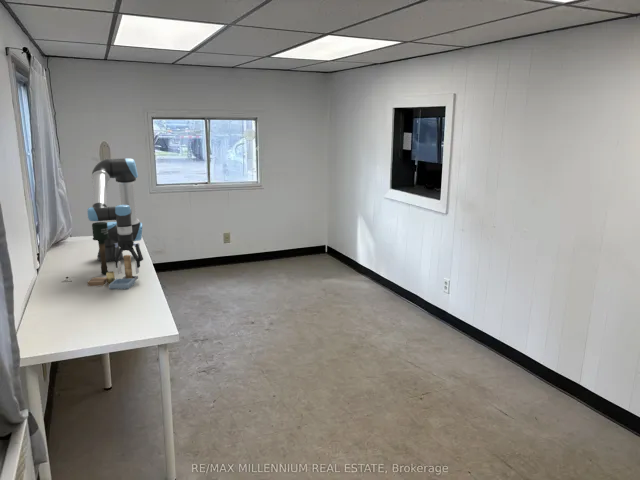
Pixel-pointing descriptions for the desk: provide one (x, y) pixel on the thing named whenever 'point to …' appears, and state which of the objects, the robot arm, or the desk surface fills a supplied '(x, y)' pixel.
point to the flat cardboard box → (97, 281)
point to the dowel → (128, 266)
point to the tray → (121, 283)
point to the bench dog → (110, 277)
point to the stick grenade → (101, 242)
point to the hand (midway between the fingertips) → (128, 273)
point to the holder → (133, 277)
